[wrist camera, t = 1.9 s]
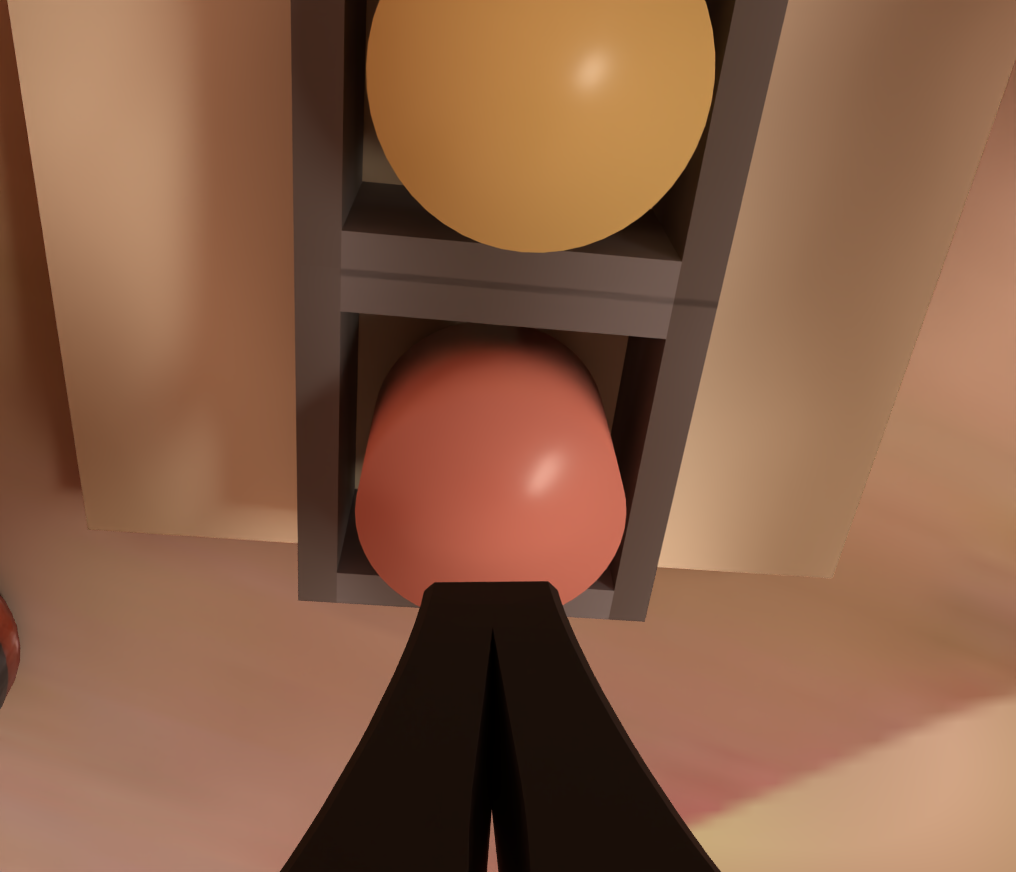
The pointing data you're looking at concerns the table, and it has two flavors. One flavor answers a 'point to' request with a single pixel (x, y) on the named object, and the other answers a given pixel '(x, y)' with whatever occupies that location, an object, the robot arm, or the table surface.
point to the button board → (491, 273)
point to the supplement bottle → (8, 650)
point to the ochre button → (539, 111)
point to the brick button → (489, 466)
